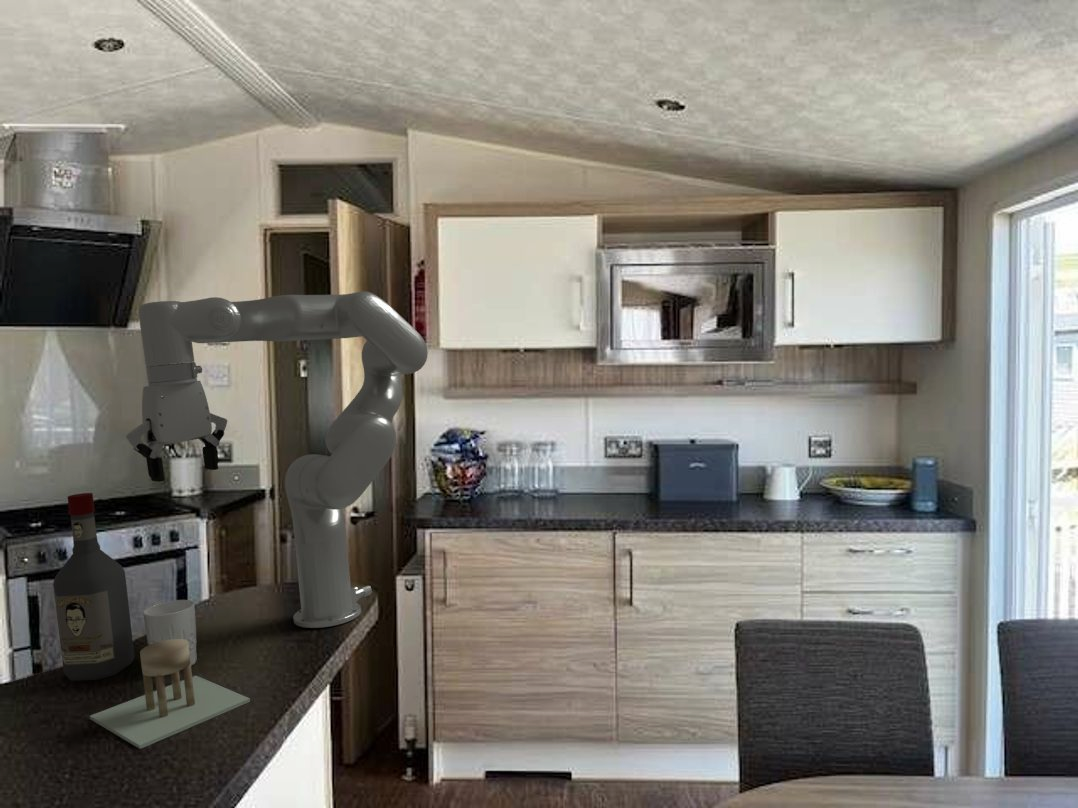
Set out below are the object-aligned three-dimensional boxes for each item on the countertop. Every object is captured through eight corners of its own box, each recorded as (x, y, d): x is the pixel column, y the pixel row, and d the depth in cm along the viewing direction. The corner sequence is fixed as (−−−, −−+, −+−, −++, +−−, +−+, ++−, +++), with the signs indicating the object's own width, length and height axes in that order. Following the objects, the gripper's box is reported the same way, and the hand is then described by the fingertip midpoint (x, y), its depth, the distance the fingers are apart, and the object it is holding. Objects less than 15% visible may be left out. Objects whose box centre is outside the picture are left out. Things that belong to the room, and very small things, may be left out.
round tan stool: (181, 693, 121) (175, 636, 120) (202, 703, 117) (196, 643, 116) (138, 710, 116) (132, 650, 115) (159, 721, 112) (152, 659, 111)
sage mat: (196, 678, 128) (195, 675, 128) (250, 701, 118) (249, 698, 118) (90, 719, 115) (89, 715, 115) (140, 749, 105) (139, 745, 105)
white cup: (180, 675, 130) (174, 615, 129) (138, 674, 131) (132, 615, 130) (210, 656, 137) (204, 599, 136) (169, 655, 139) (163, 599, 138)
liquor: (91, 660, 139) (71, 491, 137) (141, 657, 139) (122, 488, 136) (56, 682, 130) (34, 502, 128) (110, 680, 130) (89, 499, 127)
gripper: (207, 371, 143) (219, 464, 145) (108, 381, 129) (123, 485, 131) (230, 369, 138) (243, 466, 140) (131, 380, 125) (146, 487, 126)
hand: (185, 475), depth 135 cm, fingers open, 9 cm apart
